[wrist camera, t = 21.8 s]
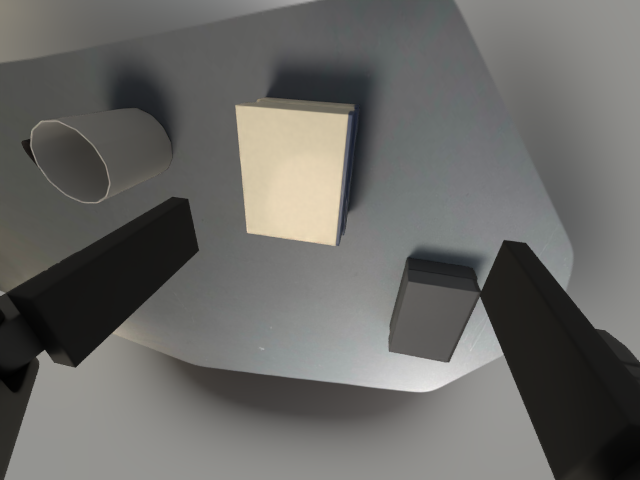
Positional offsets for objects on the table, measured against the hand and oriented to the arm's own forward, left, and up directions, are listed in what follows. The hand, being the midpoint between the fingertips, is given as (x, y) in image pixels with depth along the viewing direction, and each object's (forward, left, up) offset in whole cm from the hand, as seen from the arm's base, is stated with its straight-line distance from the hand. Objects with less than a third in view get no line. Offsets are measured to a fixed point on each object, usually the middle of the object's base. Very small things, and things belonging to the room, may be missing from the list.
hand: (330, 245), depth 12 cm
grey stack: (-12, +21, -23) cm, 33 cm away
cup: (+28, +3, -23) cm, 36 cm away
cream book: (+6, +3, -18) cm, 19 cm away
